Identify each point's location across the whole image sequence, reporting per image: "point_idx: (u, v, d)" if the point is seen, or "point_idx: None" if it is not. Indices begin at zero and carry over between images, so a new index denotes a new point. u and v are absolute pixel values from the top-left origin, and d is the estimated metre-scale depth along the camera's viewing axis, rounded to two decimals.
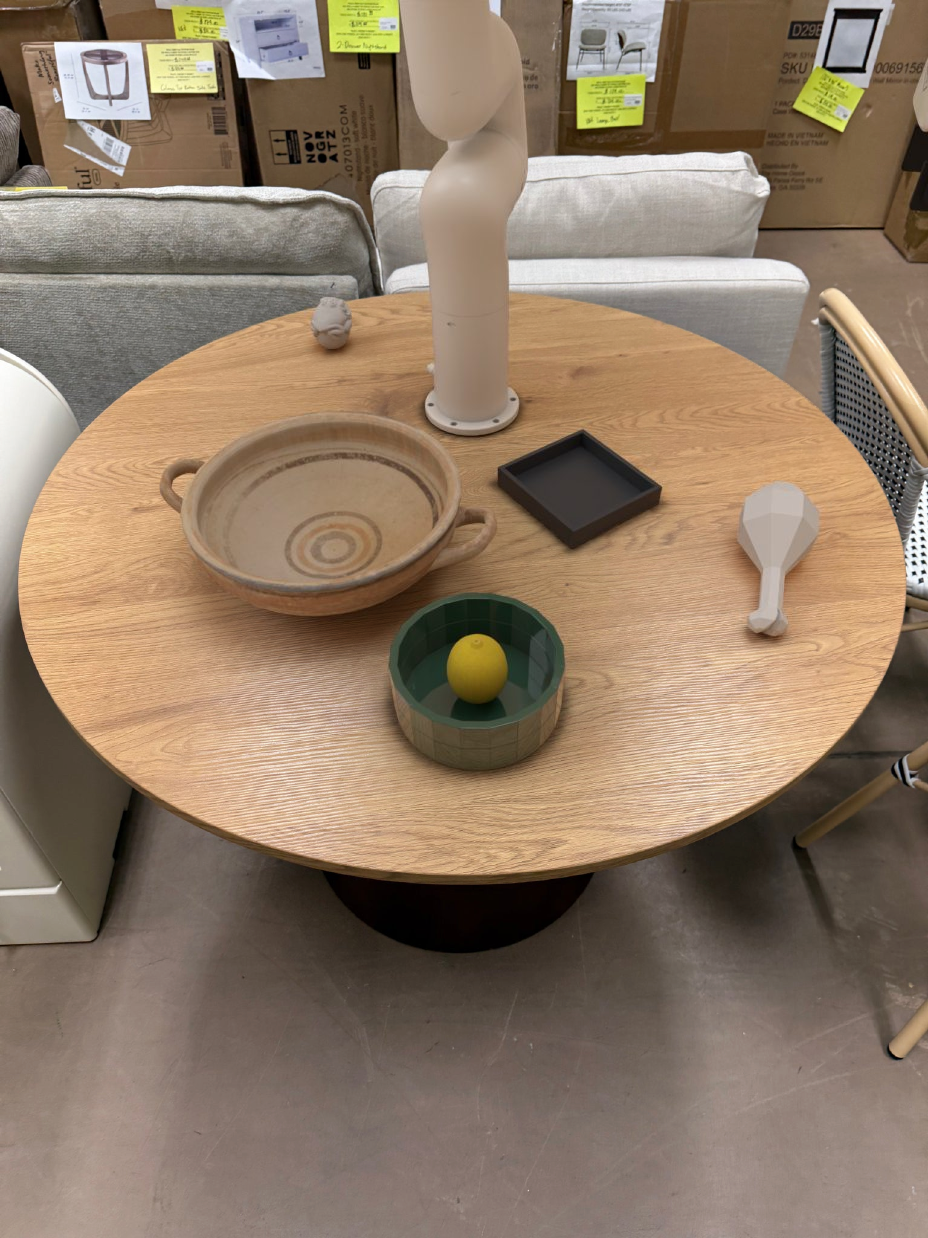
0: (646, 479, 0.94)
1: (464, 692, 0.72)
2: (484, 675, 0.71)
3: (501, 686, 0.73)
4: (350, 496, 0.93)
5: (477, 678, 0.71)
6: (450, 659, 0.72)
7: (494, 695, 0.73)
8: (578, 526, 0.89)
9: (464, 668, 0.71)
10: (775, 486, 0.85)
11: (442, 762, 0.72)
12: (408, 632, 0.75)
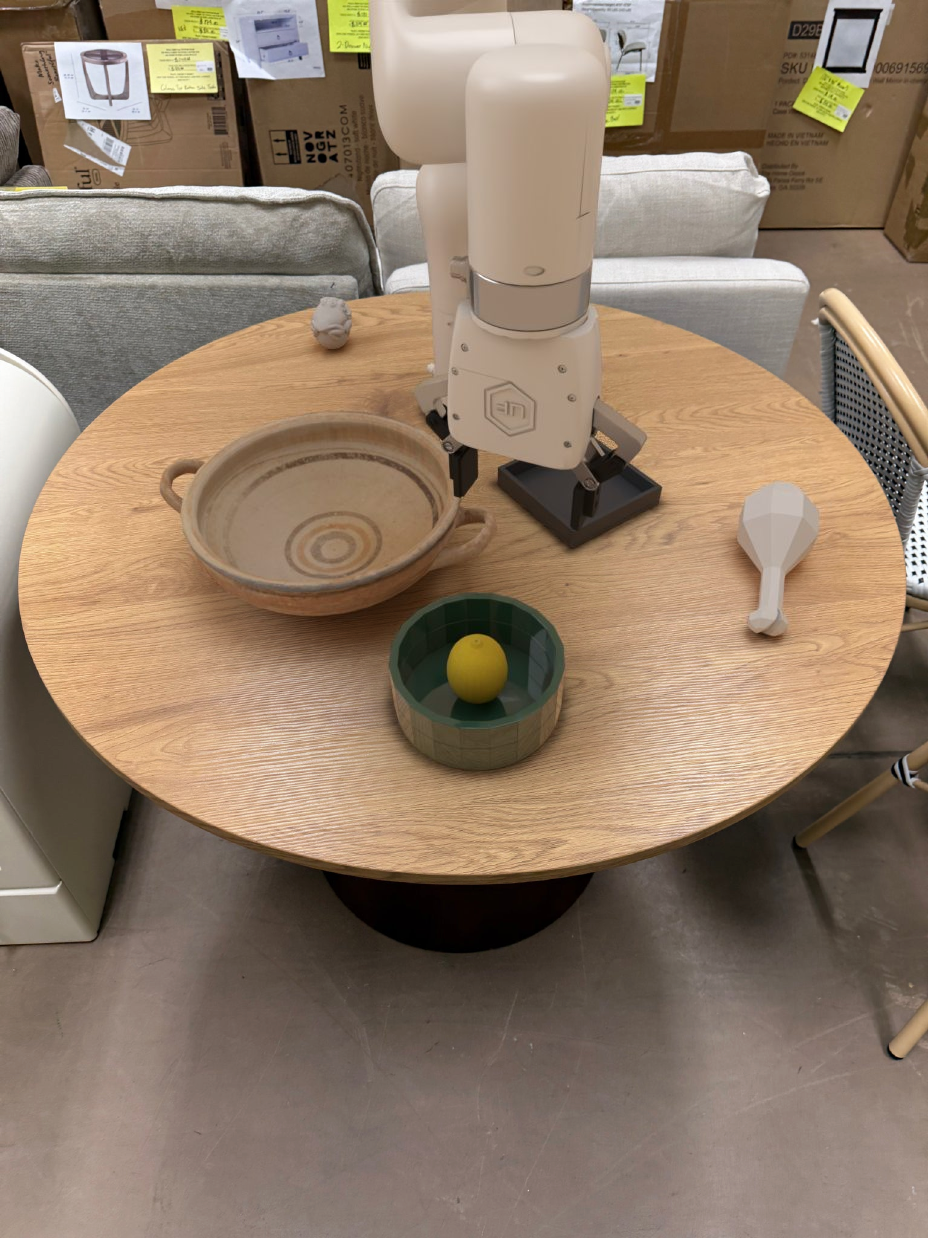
0: (646, 479, 0.94)
1: (464, 692, 0.72)
2: (484, 675, 0.71)
3: (501, 686, 0.73)
4: (350, 496, 0.93)
5: (477, 678, 0.71)
6: (450, 659, 0.72)
7: (494, 695, 0.73)
8: None
9: (464, 668, 0.71)
10: (775, 486, 0.85)
11: (442, 762, 0.72)
12: (408, 632, 0.75)
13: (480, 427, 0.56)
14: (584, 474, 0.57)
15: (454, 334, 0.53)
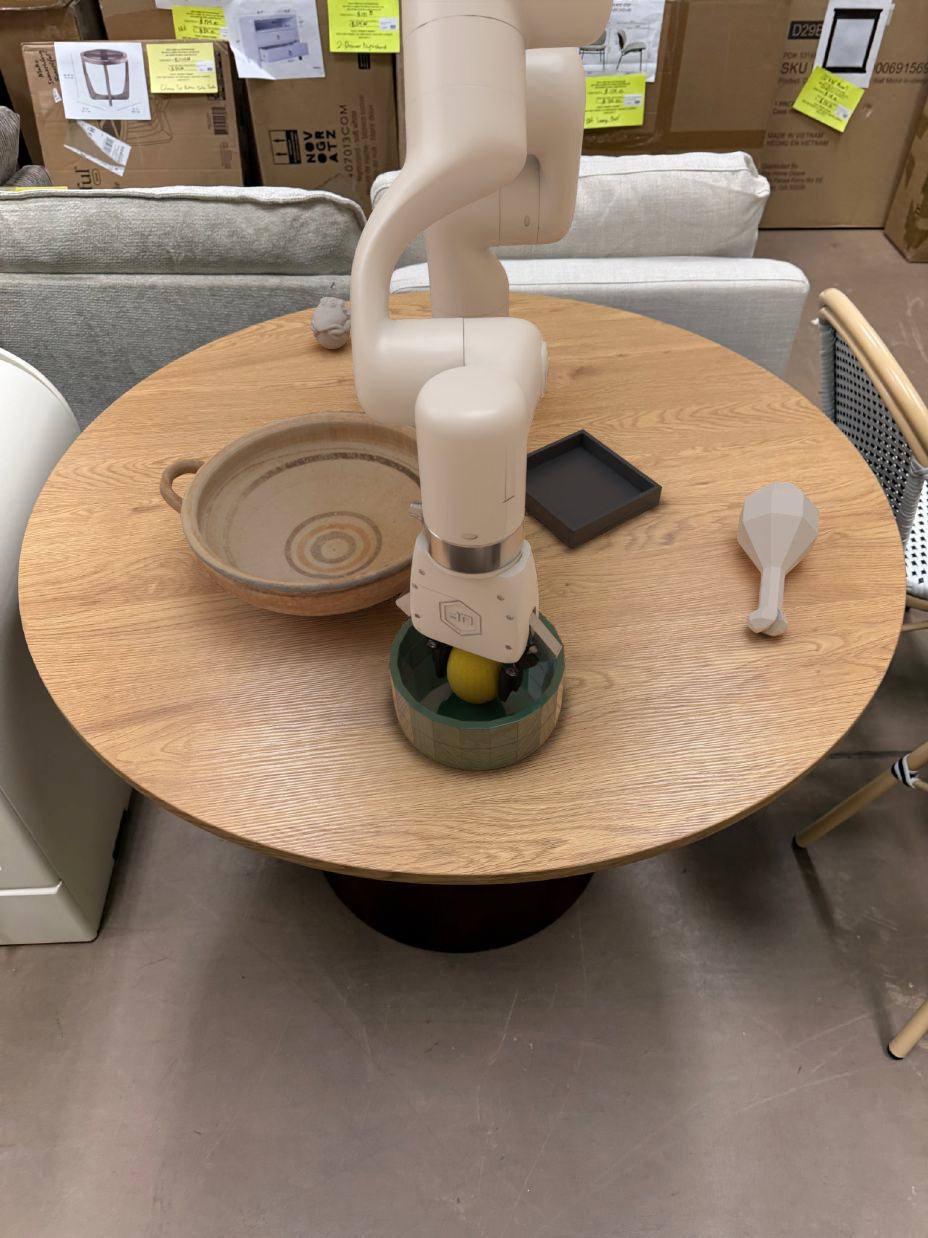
0: (646, 479, 0.94)
1: (464, 692, 0.72)
2: (484, 675, 0.71)
3: None
4: (350, 496, 0.93)
5: (477, 678, 0.71)
6: (450, 659, 0.72)
7: (494, 695, 0.73)
8: (578, 526, 0.89)
9: (464, 668, 0.71)
10: (775, 486, 0.85)
11: (442, 762, 0.72)
12: (408, 632, 0.75)
13: (437, 626, 0.67)
14: (506, 665, 0.69)
15: (413, 561, 0.63)
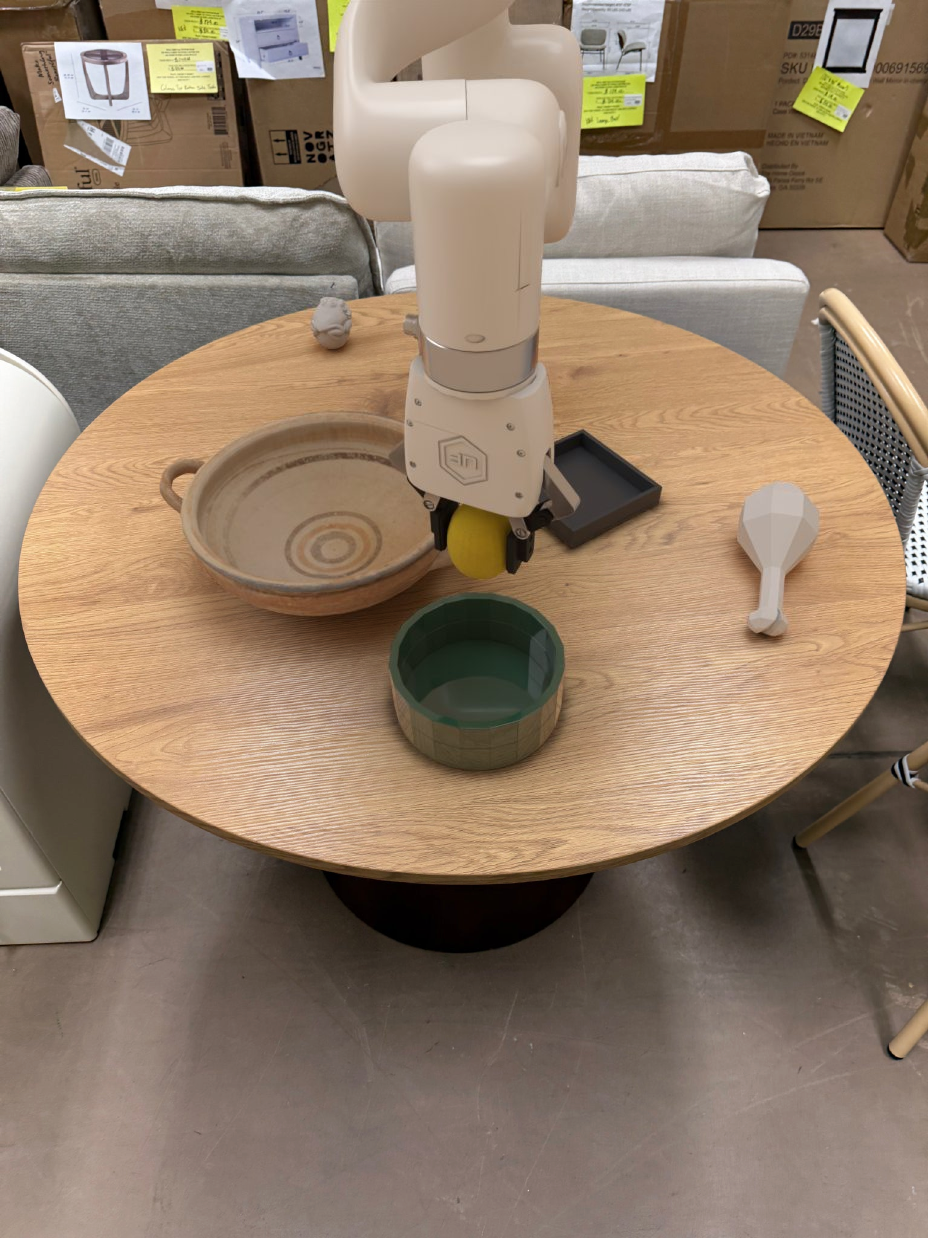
0: (646, 479, 0.94)
1: (467, 563, 0.63)
2: (490, 540, 0.61)
3: None
4: (350, 496, 0.93)
5: (482, 544, 0.62)
6: (451, 525, 0.63)
7: (501, 567, 0.64)
8: (578, 526, 0.89)
9: (467, 533, 0.62)
10: (775, 486, 0.85)
11: (442, 762, 0.72)
12: (408, 632, 0.75)
13: (436, 475, 0.58)
14: (515, 524, 0.60)
15: (408, 389, 0.54)
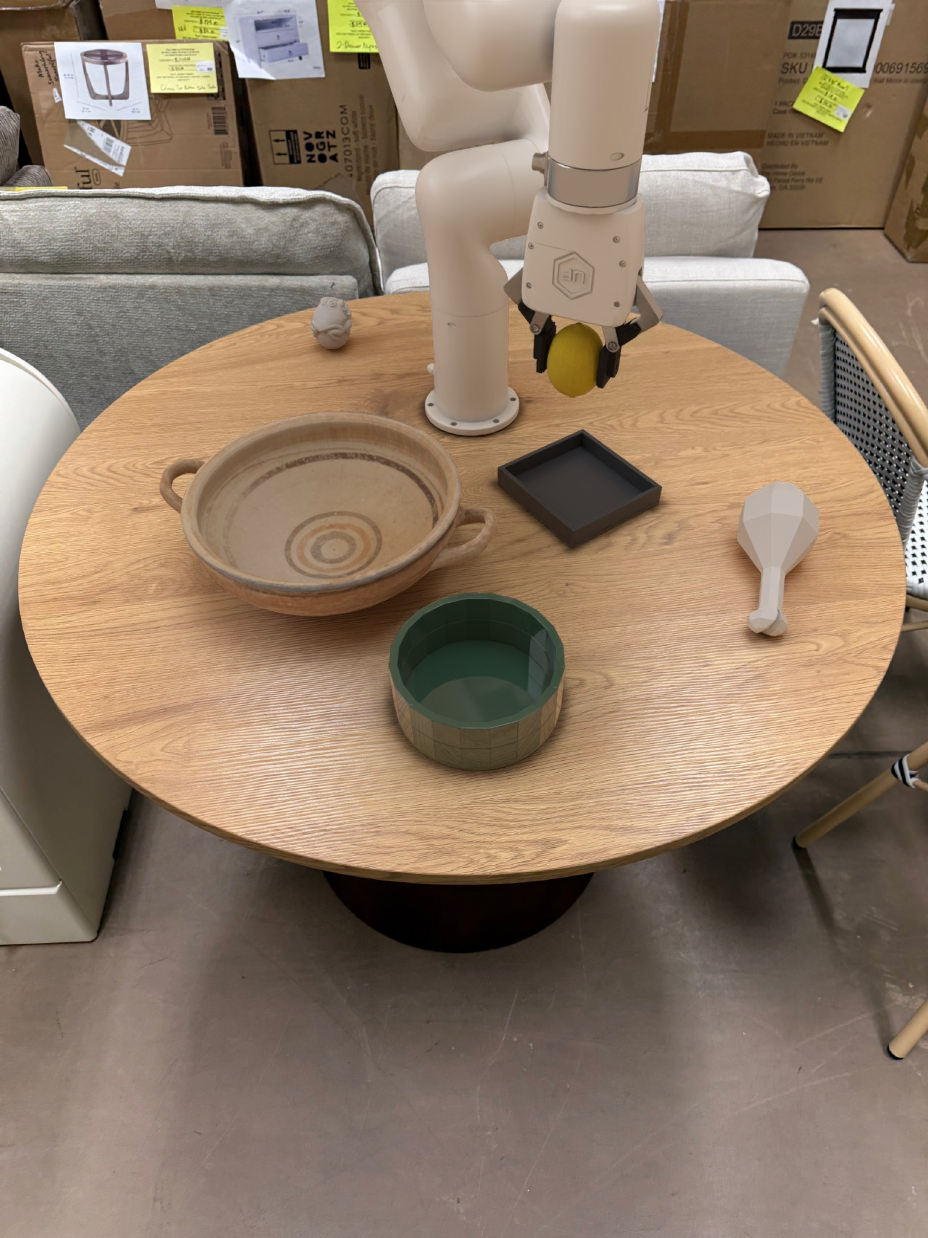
0: (646, 479, 0.94)
1: (565, 376, 0.77)
2: (586, 354, 0.76)
3: None
4: (350, 496, 0.93)
5: (579, 358, 0.76)
6: (552, 345, 0.77)
7: (592, 382, 0.78)
8: (578, 526, 0.89)
9: (567, 348, 0.76)
10: (775, 486, 0.85)
11: (442, 762, 0.72)
12: (408, 632, 0.75)
13: (548, 293, 0.72)
14: (608, 338, 0.74)
15: (532, 214, 0.68)
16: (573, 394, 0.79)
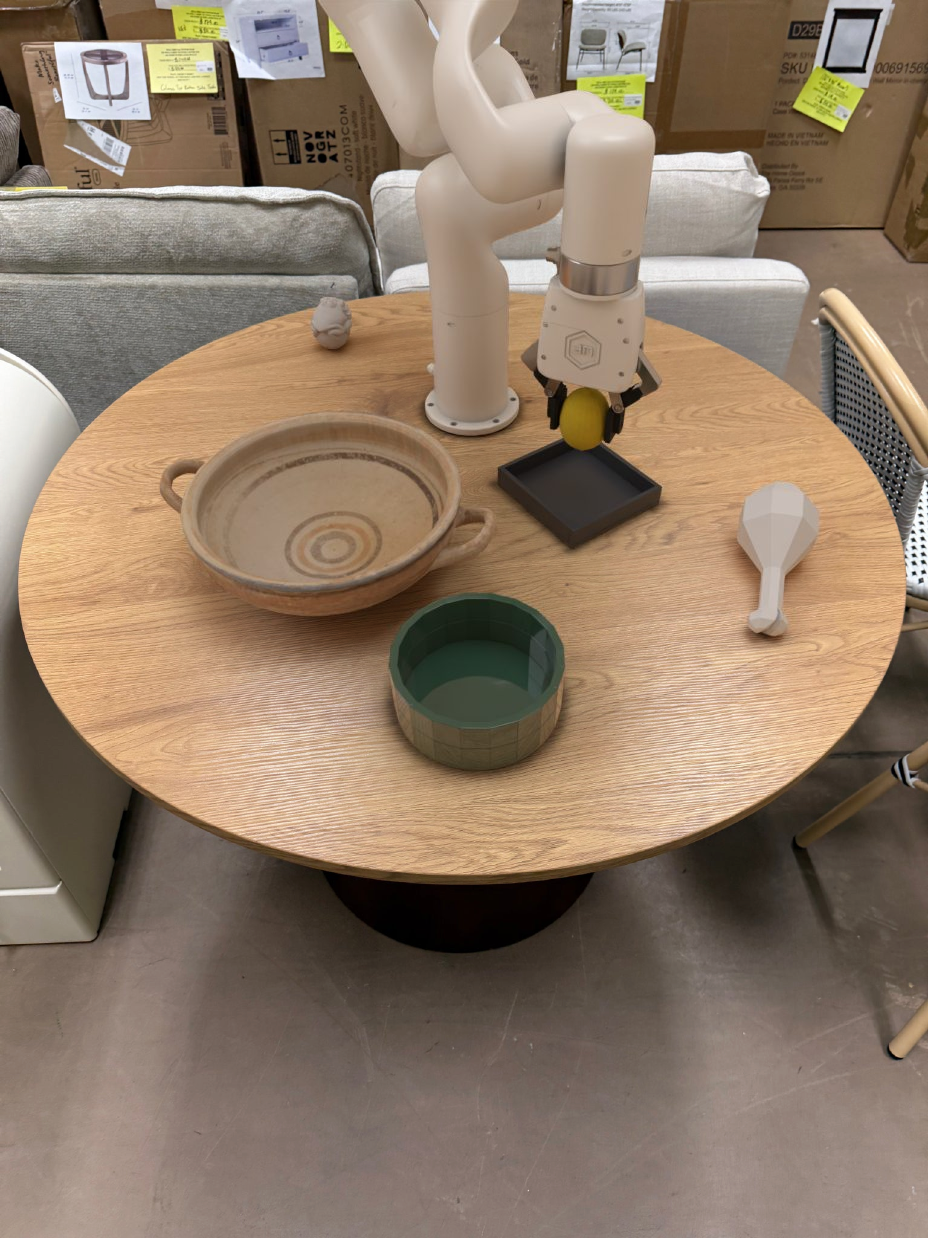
0: (646, 479, 0.94)
1: (576, 434, 0.88)
2: (594, 415, 0.86)
3: None
4: (350, 496, 0.93)
5: (588, 418, 0.86)
6: (564, 406, 0.88)
7: (600, 438, 0.88)
8: (578, 526, 0.89)
9: (578, 410, 0.86)
10: (775, 486, 0.85)
11: (442, 762, 0.72)
12: (408, 632, 0.75)
13: (560, 364, 0.82)
14: (614, 401, 0.84)
15: (547, 299, 0.79)
16: (583, 448, 0.89)
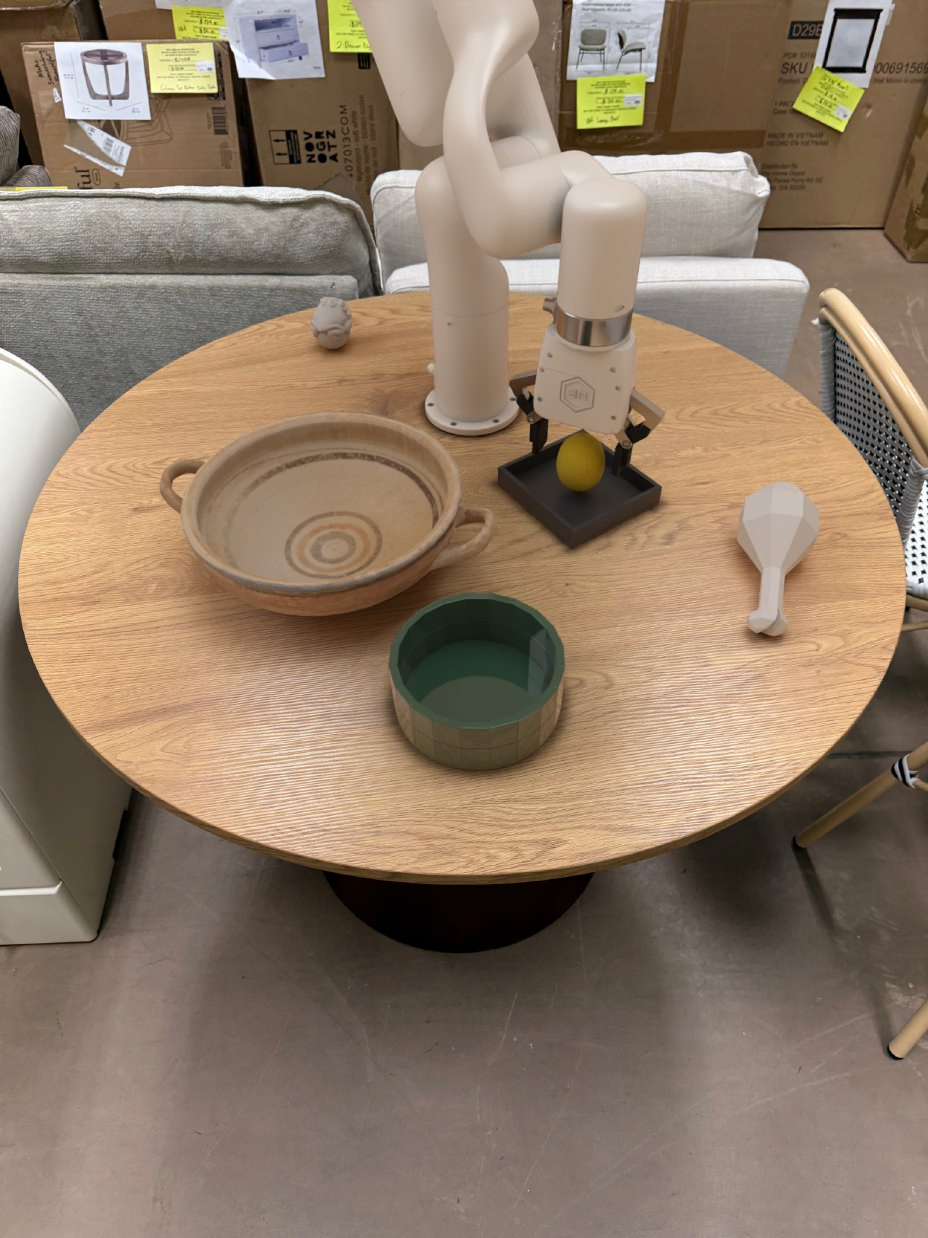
0: (646, 479, 0.94)
1: (572, 477, 0.92)
2: (589, 460, 0.90)
3: (600, 474, 0.93)
4: (350, 496, 0.93)
5: (584, 463, 0.91)
6: (561, 451, 0.92)
7: (595, 481, 0.93)
8: (578, 526, 0.89)
9: (574, 455, 0.90)
10: (775, 486, 0.85)
11: (442, 762, 0.72)
12: (408, 632, 0.75)
13: (556, 406, 0.86)
14: (623, 437, 0.87)
15: (543, 346, 0.83)
16: (579, 490, 0.94)
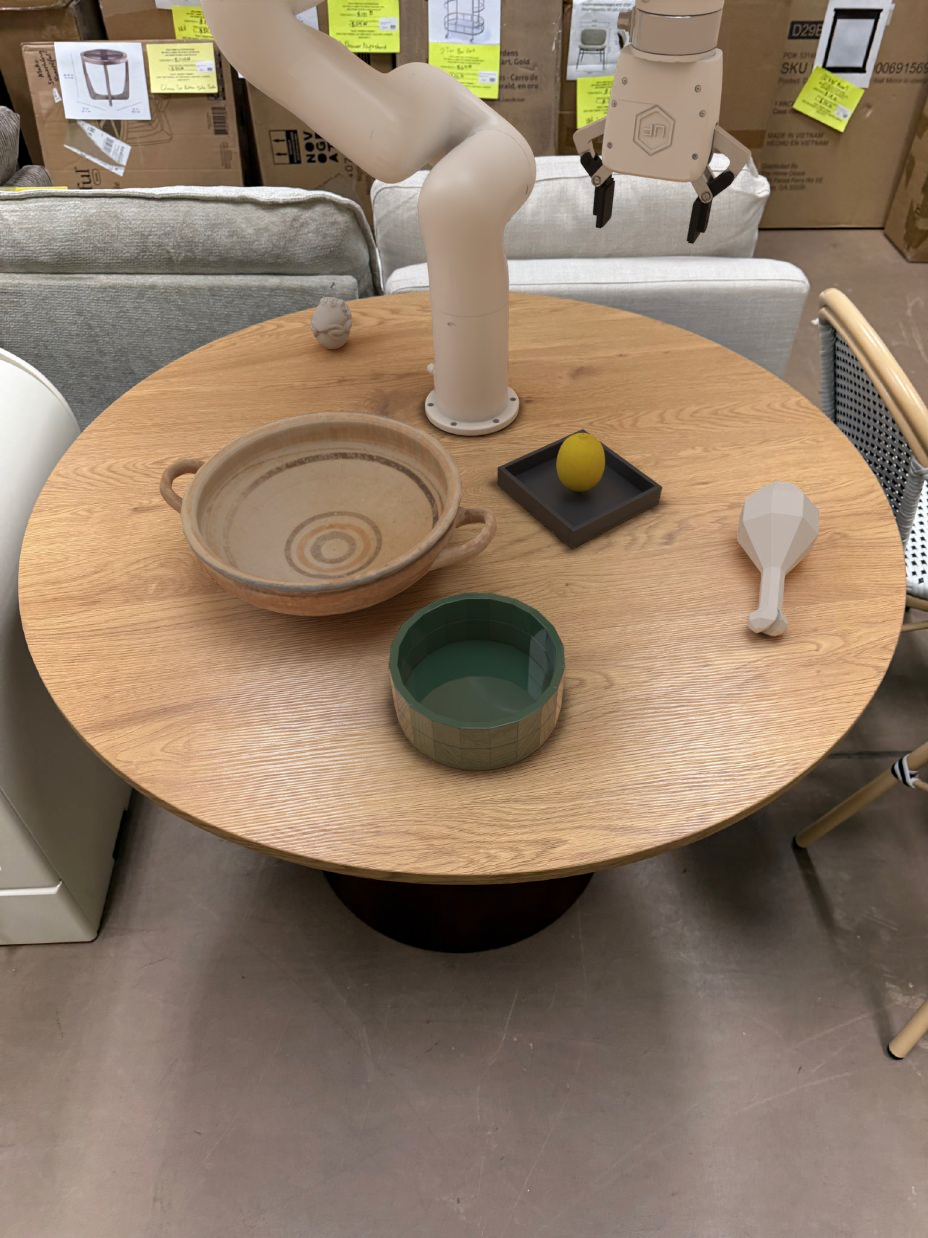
0: (646, 479, 0.94)
1: (572, 477, 0.92)
2: (589, 460, 0.90)
3: (600, 474, 0.93)
4: (350, 496, 0.93)
5: (584, 463, 0.91)
6: (561, 451, 0.92)
7: (595, 481, 0.93)
8: (578, 526, 0.89)
9: (574, 455, 0.90)
10: (775, 486, 0.85)
11: (442, 762, 0.72)
12: (408, 632, 0.75)
13: (628, 151, 0.77)
14: (702, 188, 0.78)
15: (617, 71, 0.74)
16: (579, 490, 0.94)
